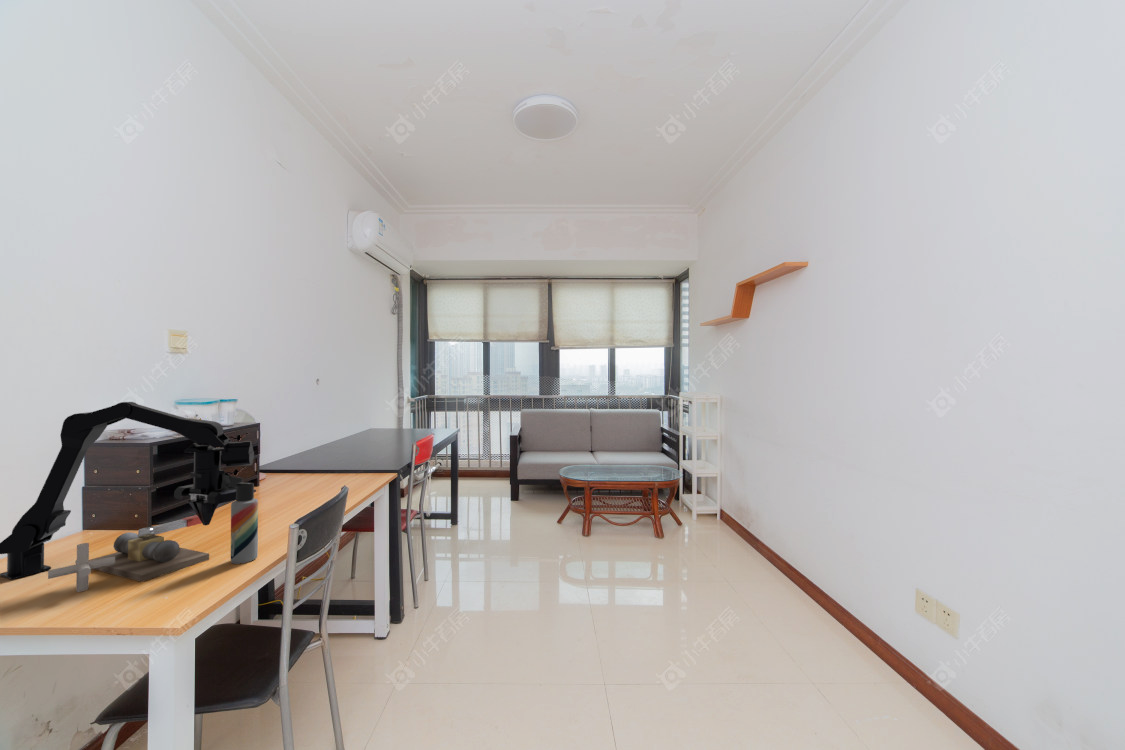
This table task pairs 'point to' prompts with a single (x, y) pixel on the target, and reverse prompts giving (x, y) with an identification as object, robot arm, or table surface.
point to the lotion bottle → (244, 524)
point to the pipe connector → (81, 567)
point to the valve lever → (168, 526)
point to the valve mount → (149, 557)
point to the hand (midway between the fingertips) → (206, 524)
